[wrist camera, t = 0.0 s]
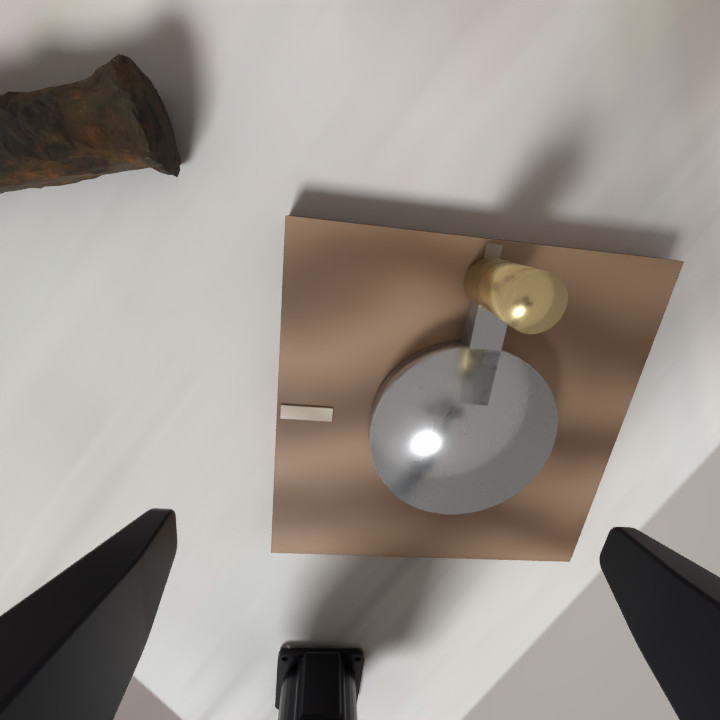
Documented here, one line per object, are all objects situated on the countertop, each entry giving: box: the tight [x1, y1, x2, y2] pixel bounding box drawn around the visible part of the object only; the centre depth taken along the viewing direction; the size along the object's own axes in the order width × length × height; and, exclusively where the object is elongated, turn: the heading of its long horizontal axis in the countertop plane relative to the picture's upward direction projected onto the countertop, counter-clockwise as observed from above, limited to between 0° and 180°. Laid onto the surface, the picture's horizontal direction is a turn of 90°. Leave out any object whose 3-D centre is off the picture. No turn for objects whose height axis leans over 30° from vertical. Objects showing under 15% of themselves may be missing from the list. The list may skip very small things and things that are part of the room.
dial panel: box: [271, 216, 684, 562], centre depth 23 cm, size 20×20×2 cm
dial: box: [368, 257, 568, 515], centre depth 19 cm, size 14×10×5 cm
